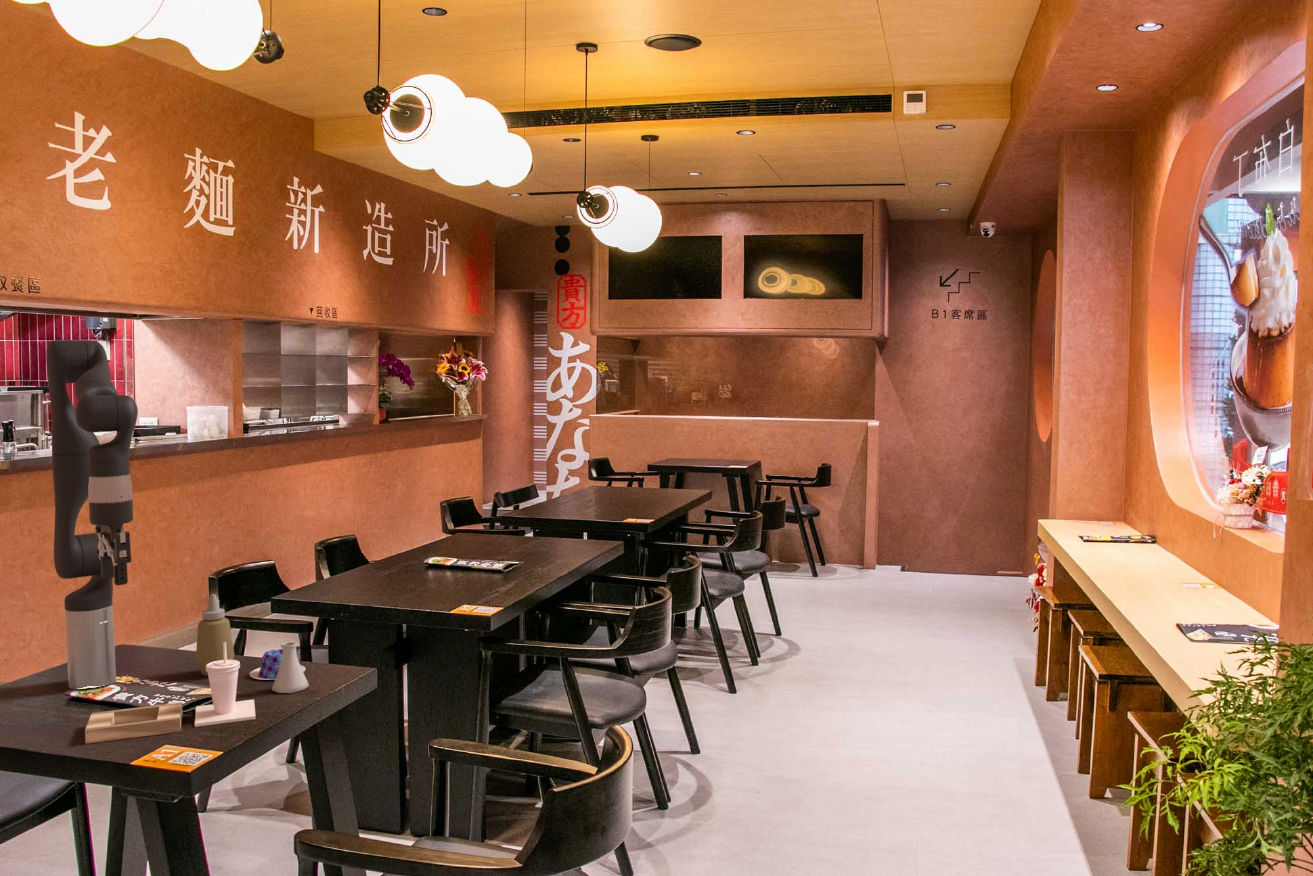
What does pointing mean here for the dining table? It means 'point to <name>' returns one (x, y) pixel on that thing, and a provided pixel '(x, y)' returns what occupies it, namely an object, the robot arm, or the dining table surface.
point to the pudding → (269, 665)
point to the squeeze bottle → (213, 636)
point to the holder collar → (160, 717)
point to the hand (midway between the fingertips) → (114, 581)
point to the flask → (289, 671)
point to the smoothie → (223, 683)
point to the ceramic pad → (241, 713)
